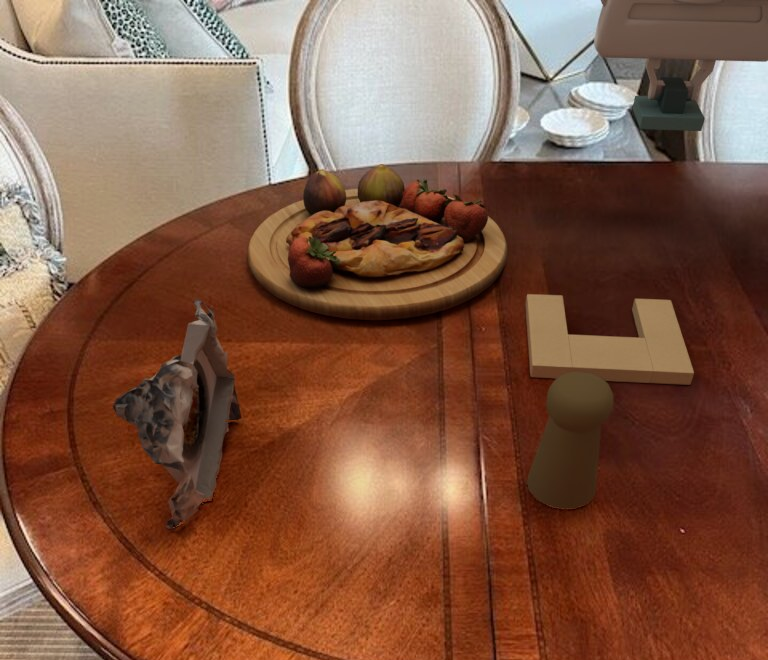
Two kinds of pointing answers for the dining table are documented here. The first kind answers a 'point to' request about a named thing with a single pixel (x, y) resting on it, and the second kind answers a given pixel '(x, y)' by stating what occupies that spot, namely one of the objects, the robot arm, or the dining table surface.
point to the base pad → (608, 345)
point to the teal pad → (667, 120)
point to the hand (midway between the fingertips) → (670, 99)
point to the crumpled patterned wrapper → (186, 415)
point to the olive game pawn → (571, 441)
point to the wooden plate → (377, 249)
